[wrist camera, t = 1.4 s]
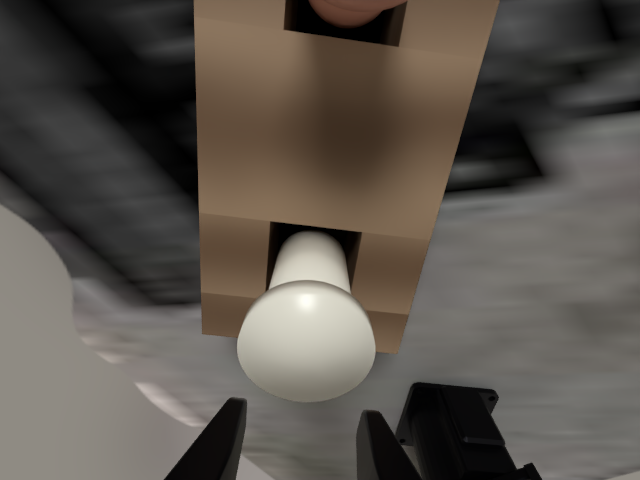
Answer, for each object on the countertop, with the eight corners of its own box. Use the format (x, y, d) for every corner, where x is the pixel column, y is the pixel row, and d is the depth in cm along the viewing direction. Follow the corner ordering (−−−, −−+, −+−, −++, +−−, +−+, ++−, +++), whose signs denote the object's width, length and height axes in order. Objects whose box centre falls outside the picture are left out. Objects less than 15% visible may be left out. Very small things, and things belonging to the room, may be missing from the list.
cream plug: (348, 302, 16) (362, 407, 11) (264, 293, 16) (235, 395, 11) (363, 225, 15) (388, 303, 9) (270, 213, 14) (238, 286, 9)
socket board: (381, 298, 22) (397, 353, 17) (228, 281, 21) (202, 334, 16) (479, -109, 13) (561, -213, 9) (234, -151, 13) (186, -284, 8)
